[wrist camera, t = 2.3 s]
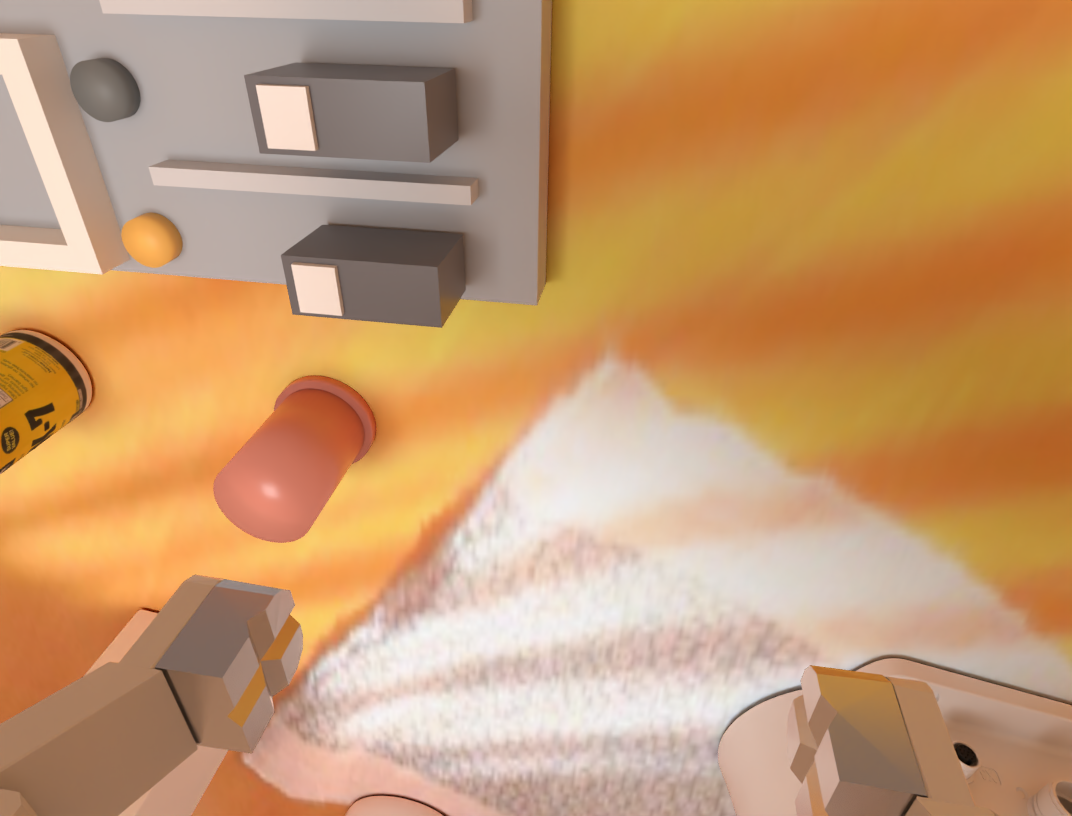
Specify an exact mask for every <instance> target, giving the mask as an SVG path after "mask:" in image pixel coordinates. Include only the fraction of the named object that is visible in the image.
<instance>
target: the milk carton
mask: <svg viewBox="0 0 1072 816" xmlns="http://www.w3.org/2000/svg"><path fill="white" fill-rule="evenodd" d="M157 614H158V613H155V612H151V611H146V610H139V611H138V612H137V613H136V614H135V615H134V616H133V617H132V619H131V620H130V621H129V622H128V623H127V625H126V626H125V627H124V628H123V629H122V631H121V632H120V633H119V634H118V635H117V637H116V638H115V639H114V640H113V641H112V643H111V644H110V645H109V646H108V647H107V649H106V650H105V651H104V652H103V653H102V655H101V656H100V657H99V658H98V660H97V661H96V662H95V663H94V664H93V666H92V667H91V668H90V669H89V670H88V672H87V673H86V674H85V675H87V674H89V673H91V672H92V671H94V670H96V669H98V668H99V667H101V666H103V665H105V664H106V663H108V662H117V663H119V662H120V661H121V659H122V658H123V657H124V656H125V654H126V653H127V652H128V651H129V649H130V648H131V647H132V646H133V644H134V643H135V642H136V641H137V639H138V638H139V637H140V636H141V634H142V633H143V632H144V631H145V629H146V628H147V627H148V626H149V624H150V623H151V622H152V621H153V619H154V618H155V617H156V616H157ZM85 675H84V676H85ZM84 676H83V677H84ZM197 746H198V750H196V751H195V752H194V753H193V754H192V755H190V756H189V757H188V758H187V759H186V760H184V761H183V762H182V763H181V764H180V765H178V766H177V767H176V768H175V769H174V770H172V771H171V772H170V773H169V774H168V775H166V776H165V777H164V778H163V779H162V780H160V781H159V782H158V783H157V784H156V785H154V786H153V787H152V788H151V789H150V790H148V791H147V792H146V793H145V794H144V795H142V796H141V797H140V798H139V799H138V800H136V801H135V802H134V803H133V804H132V805H130V806H129V807H128V808H127V809H126V810H124V811H123V812H122V813H121V814H120V815H118V816H191V815H192V813H193V811H194V810H195V808H196V806H197V804H198V802H199V801H200V799H201V797H202V795H203V794H204V792H205V790H206V788H207V787H208V785H209V783H210V781H211V779H212V778H213V776H214V774H215V772H216V771H217V769H218V767H219V765H220V764H221V762H222V760H223V758H224V757H225V755H226V753H227V751H228V750H225V749H219V748H212V747H205V746H199V745H197Z"/></svg>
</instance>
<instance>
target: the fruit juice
mask: <svg viewBox="0 0 1072 816" xmlns="http://www.w3.org/2000/svg"><path fill="white" fill-rule="evenodd" d="M345 816H443V815H442V814H441V813H439V812H437V811H436V810H434V809H432V808H430V807H428V806H426V805H423V804H421V803H418V802H415V801H412V800H408V799H404V798H399V797H393V796H371V797H366V798H363V799H360V800H358V801H356V802H355V803H354V804H353V805H352V806H351V807H350V808H349V810H348V811H347V813H346V814H345Z"/></svg>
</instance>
